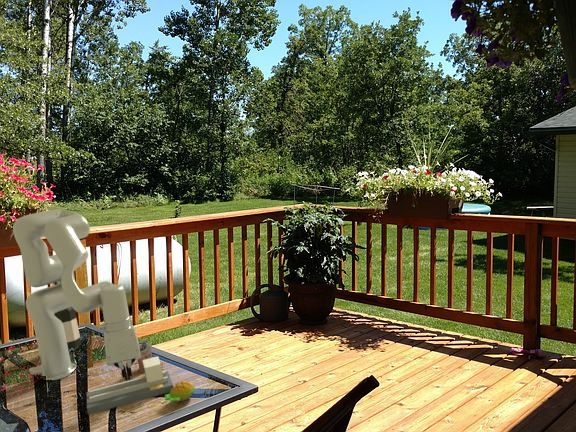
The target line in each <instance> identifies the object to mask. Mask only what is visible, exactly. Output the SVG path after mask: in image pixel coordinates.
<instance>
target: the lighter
mask: <svg viewBox="0 0 576 432" xmlns="http://www.w3.org/2000/svg"><path fill="white" fill-rule="evenodd" d="M148 342H149V339H148V337H147V338H146V337H145V338H144V339H143V340H142V341H138V343H139V348H140V353H141V356H142V357H141V358H140V359H138V360H137V362H138V363H137V365H138V367H139V369H138V372H139V374H145V371H144V365H143V360H145V359H149V358H153V354H152V344H151V343H148Z"/></svg>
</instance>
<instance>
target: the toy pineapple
mask: <svg viewBox="0 0 576 432" xmlns="http://www.w3.org/2000/svg"><path fill="white" fill-rule="evenodd" d="M195 390H196V388H195V385H193V383H191V382H190V381H186V380H183V381H180V382H176V383H175V385H173V388H172V390H171V392H169V393H168V394H167V393H166V394H165V395H164V400H165V401H169V402H170V403H173V402H179V401H180V402H183V401H186V400H188V399H190V397H192V396H193V394H194V392H195Z"/></svg>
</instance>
